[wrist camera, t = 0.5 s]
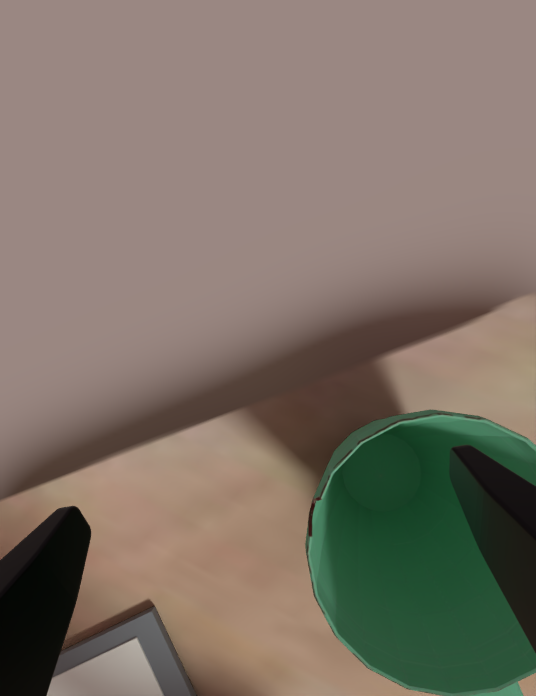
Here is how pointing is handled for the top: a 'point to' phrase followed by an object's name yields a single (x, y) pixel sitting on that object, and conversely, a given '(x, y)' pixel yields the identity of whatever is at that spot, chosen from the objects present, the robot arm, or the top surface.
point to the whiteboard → (123, 662)
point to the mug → (416, 557)
